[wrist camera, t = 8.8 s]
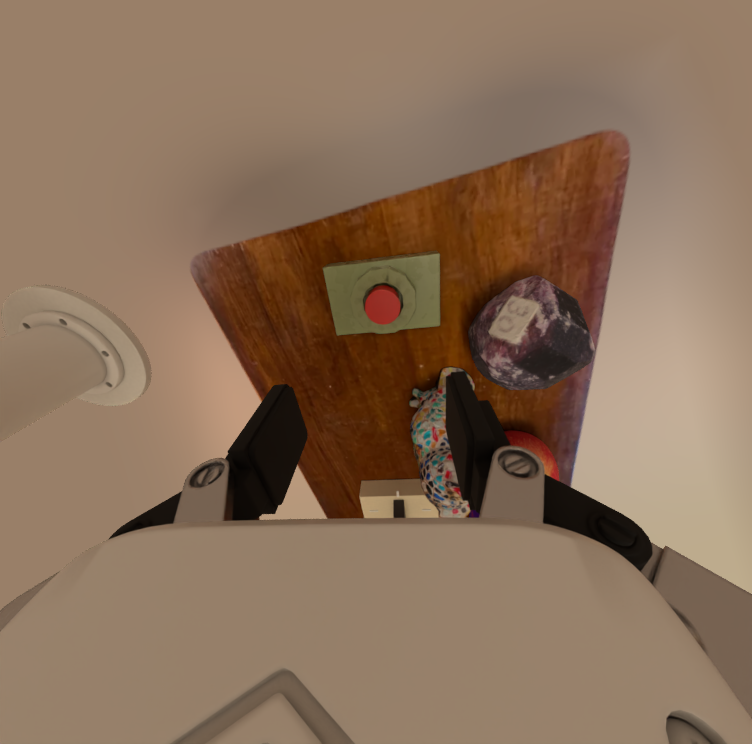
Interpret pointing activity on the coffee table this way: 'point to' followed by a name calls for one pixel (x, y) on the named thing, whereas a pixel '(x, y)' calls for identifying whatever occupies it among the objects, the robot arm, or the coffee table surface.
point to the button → (382, 305)
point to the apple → (535, 450)
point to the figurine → (436, 449)
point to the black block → (398, 509)
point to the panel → (395, 498)
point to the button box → (402, 272)
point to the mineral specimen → (530, 336)
